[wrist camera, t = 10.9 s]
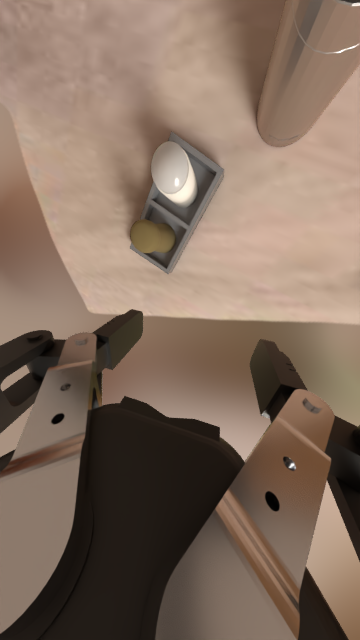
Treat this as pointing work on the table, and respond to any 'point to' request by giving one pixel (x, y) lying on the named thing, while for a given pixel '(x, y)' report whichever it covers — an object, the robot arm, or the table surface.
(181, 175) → the salt shaker
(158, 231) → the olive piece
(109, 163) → the table surface
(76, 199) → the table surface
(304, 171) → the table surface
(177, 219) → the caddy
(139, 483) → the robot arm
